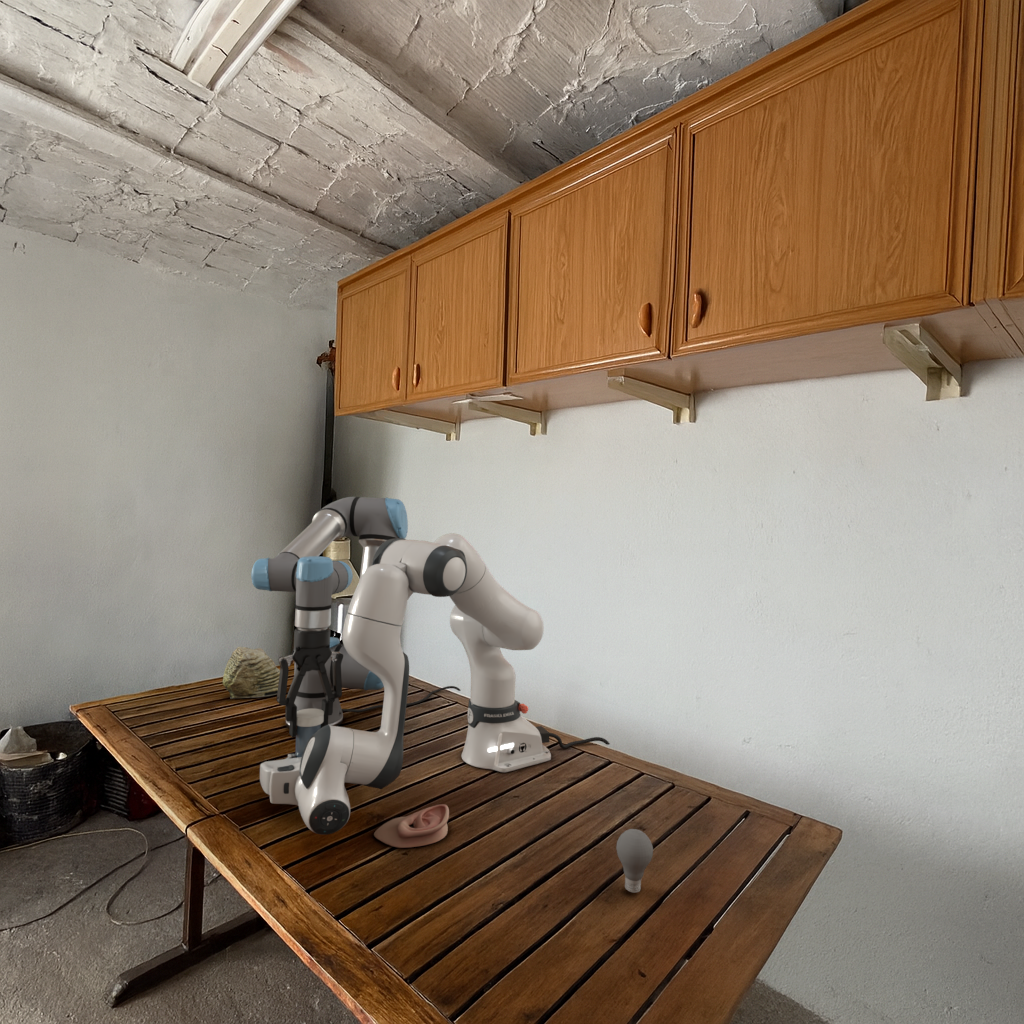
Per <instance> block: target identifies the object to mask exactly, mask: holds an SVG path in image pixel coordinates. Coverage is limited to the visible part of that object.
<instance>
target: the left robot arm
mask: <svg viewBox="0 0 1024 1024" xmlns="http://www.w3.org/2000/svg"><path fill="white" fill-rule="evenodd" d="M408 522H409V521H408V513H407V508H406V506H405V504H404V502H403V501H402V500H401V499H397V498H391V497H390V498H389V497H370V496H369V497H368V496H347V497H343V498H340V499H337V500H335V501H332V502H330V503H328V504H327V505H325V506H323V507H322V508H320V510H318V511H317V512H316V513H315V514H314V515H313V517H312V520H311V523H310V524H308V526H306V527H305V529H303V530H302V531H301V532H300V533H299V534H298V535H297V536H296V537H295V538H294V539H292V541H290V542H289V543H288V544H287V545H286V546H285V547H284V548H283V549H282V550H281V551H280V552H279V553H278V554H277V555H276V556H275V557H273V558H270V557H266V558H265V557H264V558H258V559H257V560H256V561H255V562H254V563H253V565H252V569H251V572H250V573H251V575H250V576H251V583H252V585H253V587H254V588H255V589H257V590H259V591H268V592H282V593H283V592H286V593H295V612H294V626H295V627H296V628H295V629H294V631H293V632H294V634H293V649H292V651H291V654H289V655H286V656H279V657H278V659H277V660H278V664H279V667H280V668H279V670H280V675H279V684H278V693H277V694H276V701H277V703H278V704H279V705H280V706H285V713H284V714H285V715H284V718H285V726H286V728H287V729H289V730H288V732H289V733H288V734H289V735H290V737H291V738H296V722H297V711H299V710H302V709H311V708H313V709H320V710H323V711H324V722H323V723H322V724H321V728H322V727H324V726H326V725H331V726H339V727H340V725H342V723H343V722H344V714H343V712H344V713H346V712H347V713H348V712H349V713H363V712H367V711H371V710H374V709H380V708H383V704H377V705H373V706H369V707H366V708H362V709H361V708H360V709H353V708H342V706H341V702H340V698H342V696H343V689H354V690H364V691H379V690H382V689H384V685H383V683H382V681H381V679H380V678H379V677H378V676H377V675H375V674H374V673H373V672H371V671H370V670H368V669H367V668H365V667H364V666H362V665H361V664H359V663H358V662H357V661H355V660H354V659H353V658H352V657H351V656H350V655H349V654H348V652H347V651H346V649H345V647H344V644H341V641H340V639H339V638H338V637H334V636H331V629H330V627H331V626H332V625H331V624H332V600H333V595H336V594H340V593H342V592H344V591H345V590H346V589H348V588H349V587H350V585H351V584H352V582H353V577H354V576H353V575H354V573H353V570H352V568H351V567H350V565H349V564H348V563H346V562H344V561H343V560H333V559H332V558H330V557H328V556H320V555H322V554H323V552H324V551H325V550H326V549H327V548H328V547H329V546H330V545H331V543H333V542H336V541H338V540H340V539H341V538H342V537H357V538H358V543H359V544H360V546H361V547H362V554H361V555H362V557H361V564H360V573H359V581H360V579H361V577H362V575H363V573H364V572H365V570H366V569H367V568H368V567H370V566H372V562H373V558H374V555H375V553H376V551H377V549H378V548H379V547H380V545H381V544H382V543H384V542H385V541H387V540H390V539H395V538H403V539H406V538H407V535H408V531H409V523H408ZM359 581H358V582H359ZM292 661H293V662H294V670H293V671H294V672H293V678H292V681H291V684H290V687H289V690H288V692H287V689H288V681H289V672H290V671H289V670H290V669H289V667H291V665H292ZM448 689H454V690H457V692H461V688H459V687H457V686H455V685H447V686H443V687H440V688H437V689H435V690H432V691H430V692H429V693H428V694H427V695H426V696H425V697H423V698H421V699H419V700H415V701H413V702H409V703H408V702H407V705H406V707H409V706H414V705H418V704H420V703H422V702H424V701H427V700H428V699H429V698H430V697H431V695H433V694H435V693H439V692H441V691H444V690H448Z"/></svg>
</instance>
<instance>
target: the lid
mask: <svg viewBox="0 0 1024 1024" xmlns="http://www.w3.org/2000/svg"><path fill="white" fill-rule="evenodd" d="M323 722H324V711H323V710H320V709H313V708H311V709H302V710H299V711H297V722H296V725H297V726H301V727H312V726H317V725H320V724H322V723H323Z"/></svg>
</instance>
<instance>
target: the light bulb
mask: <svg viewBox="0 0 1024 1024" xmlns="http://www.w3.org/2000/svg"><path fill="white" fill-rule="evenodd" d="M615 849H616V854H617V857H618V859H619V861H620V863H621V865H622V867H623V873H624V874H623V875H624V876H625V878H624V888H625V890H627V891H628V892H630V893H634V894H635V893H639V892H640V891H641V889H642V887H641V886H642V879H643V877H644V875H645V871H646V868H647V867H648V866H649V864H650V863H651V861H652V859H653V855H654V847H653V843H652V841H651V838H649V836H648V835H647V834H646V833H645V832H643V831H642V830H641V829H636V828H629V829H627V830H625V831H623V832H622V833H621V834H620V835H619V837H618V839H617V841H616V847H615Z"/></svg>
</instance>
